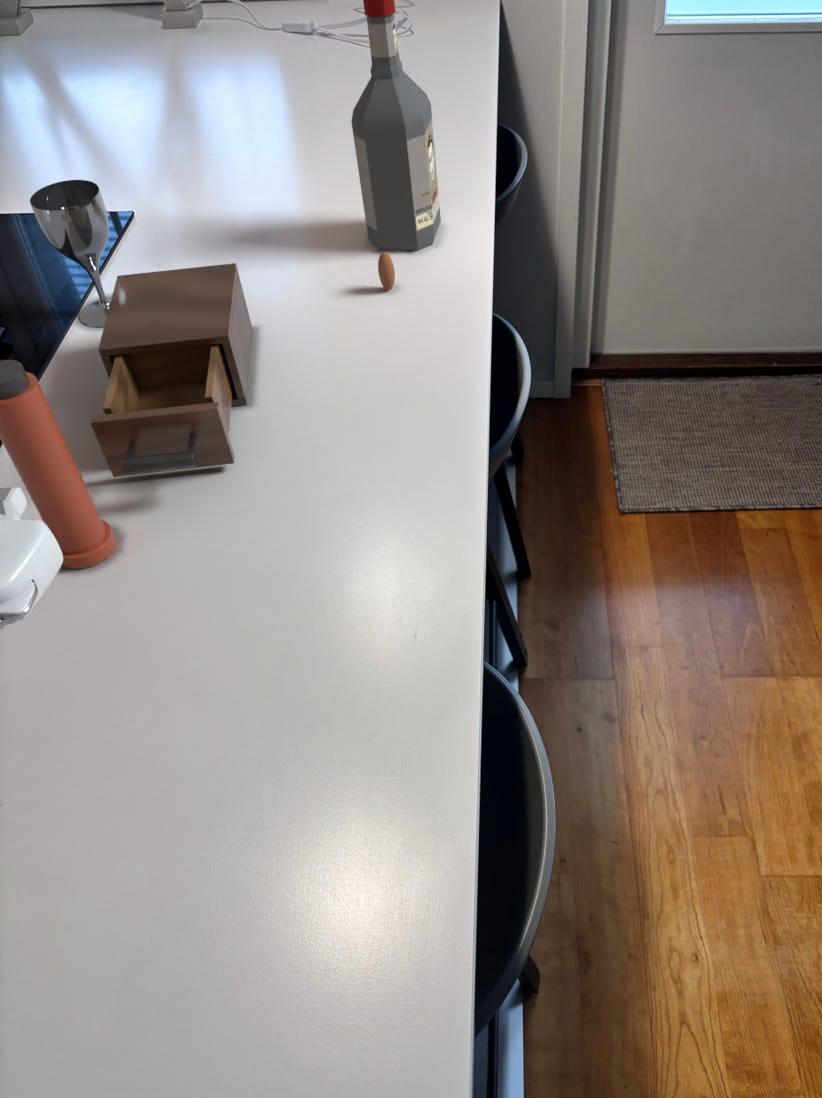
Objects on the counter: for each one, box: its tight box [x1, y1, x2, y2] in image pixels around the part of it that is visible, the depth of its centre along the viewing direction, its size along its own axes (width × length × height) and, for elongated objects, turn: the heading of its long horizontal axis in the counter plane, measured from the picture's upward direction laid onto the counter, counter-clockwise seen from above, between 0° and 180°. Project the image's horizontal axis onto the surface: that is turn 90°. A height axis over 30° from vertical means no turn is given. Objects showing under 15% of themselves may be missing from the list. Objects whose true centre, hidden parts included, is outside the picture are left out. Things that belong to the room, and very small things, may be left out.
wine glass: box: [29, 179, 112, 328], centre depth 120 cm, size 8×8×15 cm
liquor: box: [350, 0, 442, 252], centre depth 124 cm, size 9×9×30 cm
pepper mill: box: [0, 359, 117, 570], centre depth 89 cm, size 6×6×20 cm
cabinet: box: [97, 262, 254, 407], centre depth 112 cm, size 16×14×9 cm
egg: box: [377, 251, 396, 291], centre depth 124 cm, size 2×2×5 cm
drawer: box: [89, 344, 236, 478], centre depth 103 cm, size 19×12×7 cm, turn 6°
